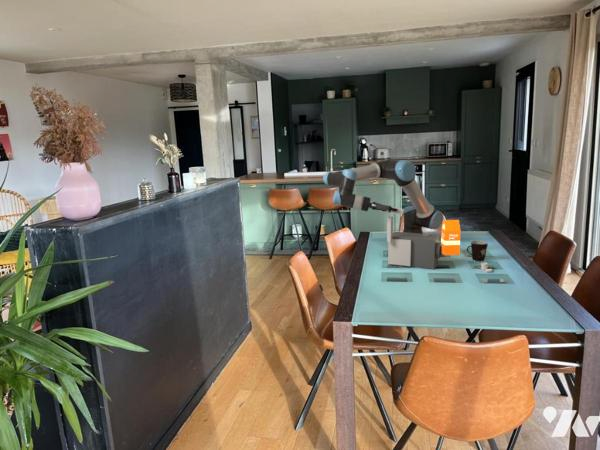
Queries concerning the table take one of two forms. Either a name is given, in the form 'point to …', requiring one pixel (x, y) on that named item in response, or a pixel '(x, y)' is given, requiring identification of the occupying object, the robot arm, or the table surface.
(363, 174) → the robot arm
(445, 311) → the table surface
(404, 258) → the side door
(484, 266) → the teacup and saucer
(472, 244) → the coffee mug
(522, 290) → the table surface
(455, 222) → the orange juice
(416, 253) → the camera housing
